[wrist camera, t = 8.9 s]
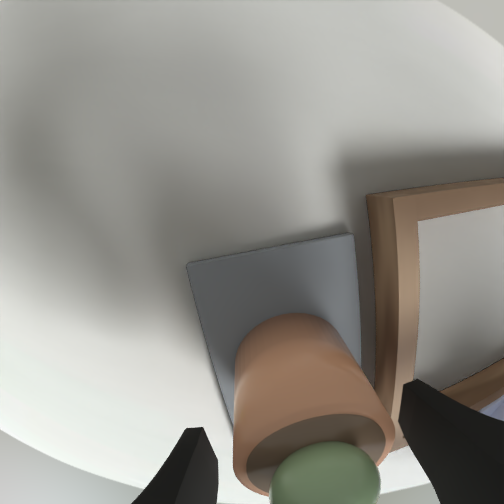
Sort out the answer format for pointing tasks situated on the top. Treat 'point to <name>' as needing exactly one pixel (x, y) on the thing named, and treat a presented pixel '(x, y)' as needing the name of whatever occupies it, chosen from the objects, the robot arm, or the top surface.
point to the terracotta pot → (306, 416)
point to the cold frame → (417, 288)
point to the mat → (275, 295)
